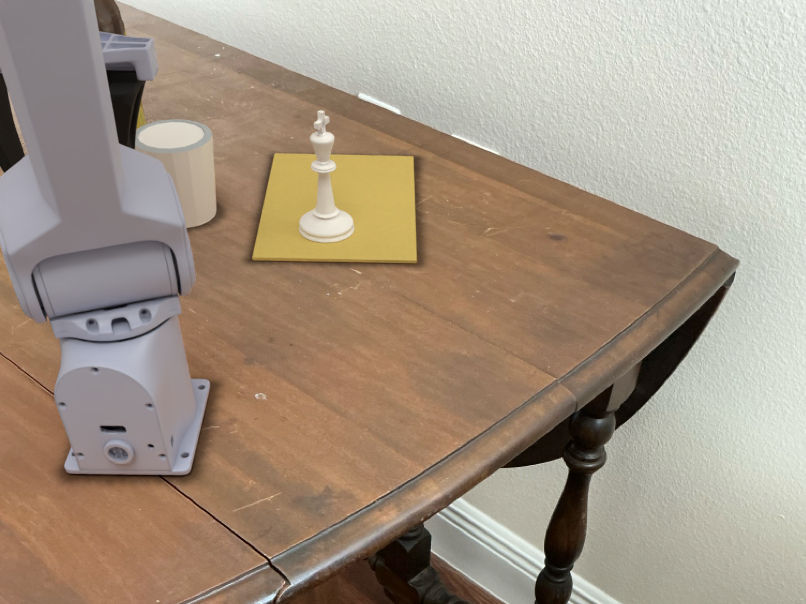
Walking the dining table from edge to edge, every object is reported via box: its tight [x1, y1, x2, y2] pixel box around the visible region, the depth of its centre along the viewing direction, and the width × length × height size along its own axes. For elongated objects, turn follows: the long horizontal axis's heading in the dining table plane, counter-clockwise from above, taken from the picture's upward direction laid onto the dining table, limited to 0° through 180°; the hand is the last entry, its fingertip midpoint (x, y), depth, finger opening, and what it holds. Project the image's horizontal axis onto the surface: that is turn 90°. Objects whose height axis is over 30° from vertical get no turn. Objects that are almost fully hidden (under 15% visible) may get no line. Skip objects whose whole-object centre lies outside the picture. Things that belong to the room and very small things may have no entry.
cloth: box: [251, 152, 418, 264], centre depth 78 cm, size 20×14×1 cm
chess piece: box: [299, 109, 354, 243], centre depth 71 cm, size 5×5×10 cm
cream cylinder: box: [135, 118, 218, 229], centre depth 74 cm, size 7×7×7 cm
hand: (74, 182), depth 60 cm, fingers open, 7 cm apart
